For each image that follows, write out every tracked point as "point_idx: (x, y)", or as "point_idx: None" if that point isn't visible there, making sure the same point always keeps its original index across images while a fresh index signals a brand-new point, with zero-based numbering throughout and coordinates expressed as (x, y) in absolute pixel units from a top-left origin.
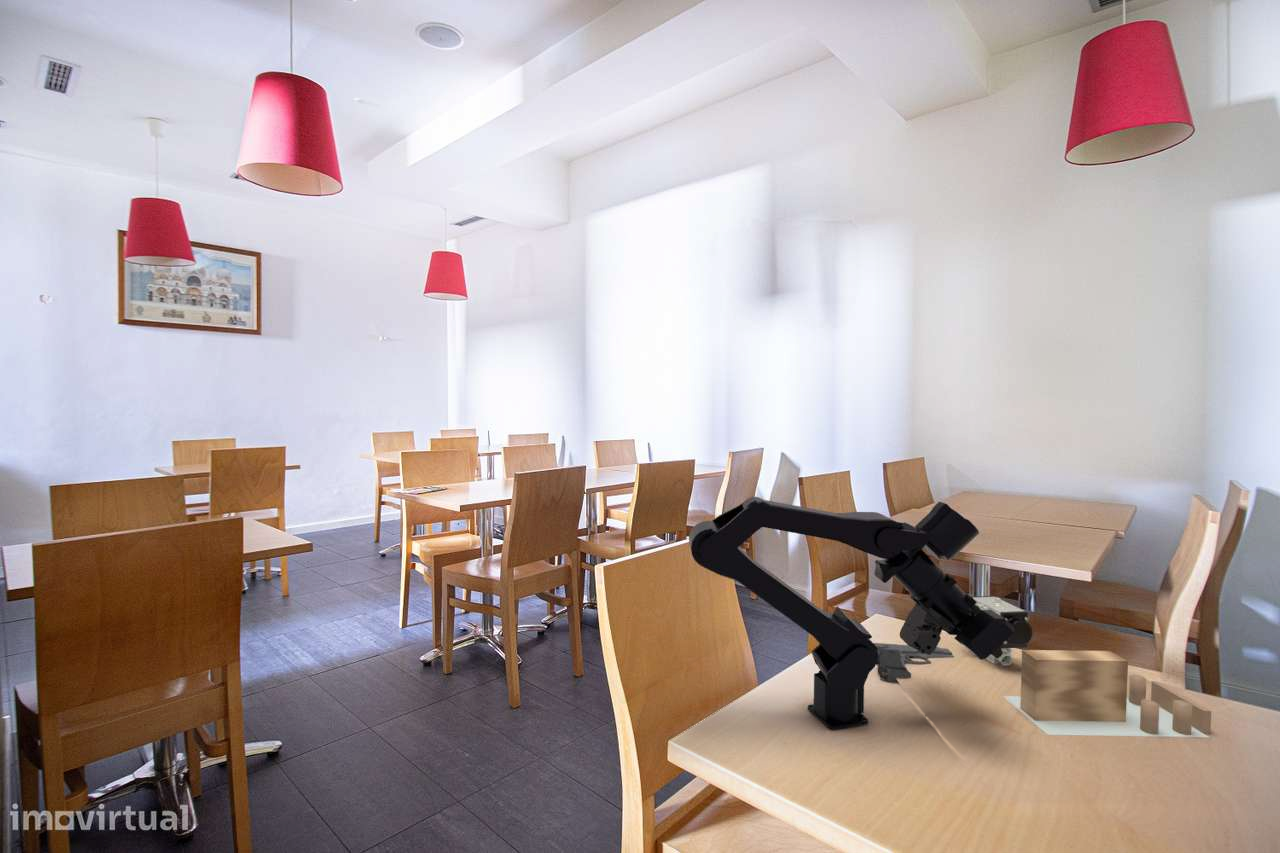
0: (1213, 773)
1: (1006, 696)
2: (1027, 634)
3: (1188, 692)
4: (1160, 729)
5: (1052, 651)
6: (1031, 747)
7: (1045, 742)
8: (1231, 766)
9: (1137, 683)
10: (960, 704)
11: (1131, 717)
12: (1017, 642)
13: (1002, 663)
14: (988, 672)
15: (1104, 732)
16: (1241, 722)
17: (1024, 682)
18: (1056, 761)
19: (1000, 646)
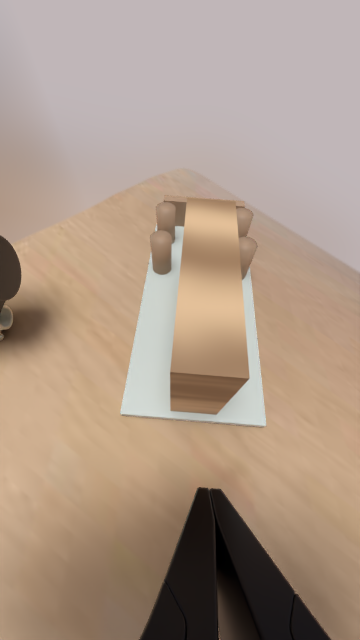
0: (309, 275)
1: (122, 406)
2: (9, 257)
3: (138, 184)
4: None
5: (185, 295)
6: (292, 480)
7: (269, 436)
8: (289, 251)
9: (172, 217)
10: (118, 538)
11: None
12: (13, 289)
13: (6, 327)
14: (10, 365)
15: (248, 328)
16: (200, 189)
17: (183, 398)
18: (333, 462)
19: (241, 518)
